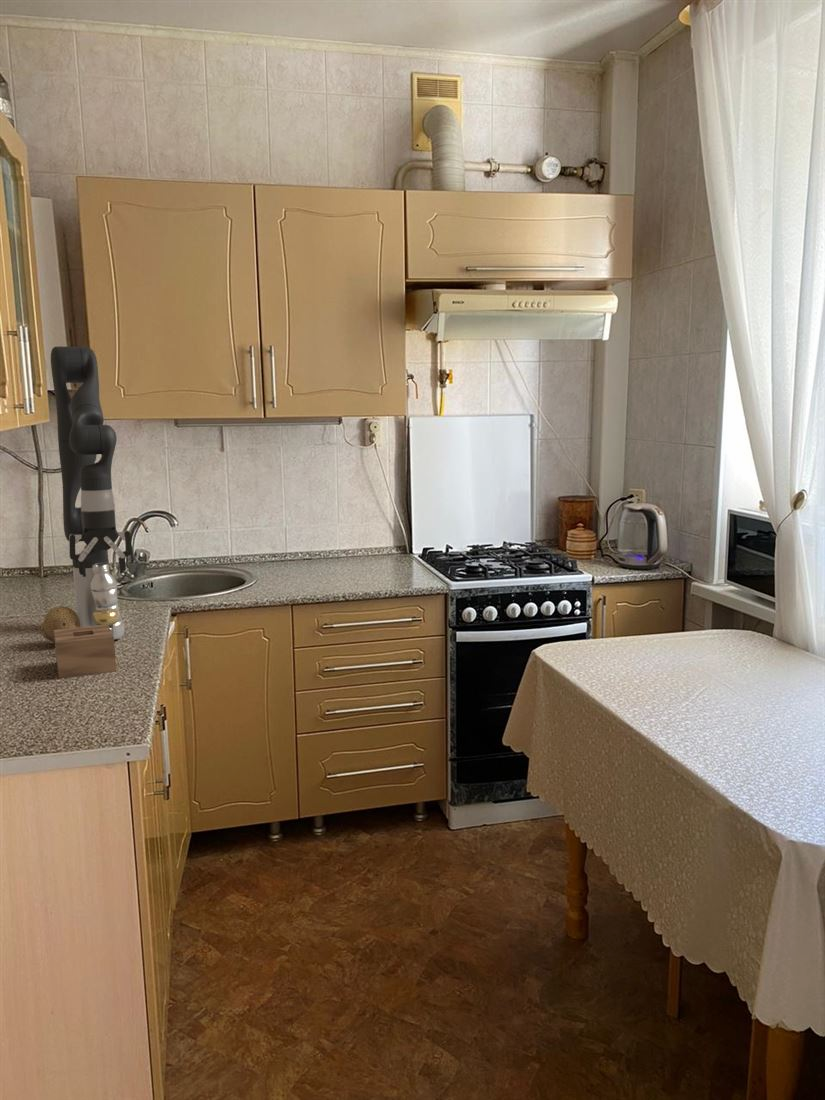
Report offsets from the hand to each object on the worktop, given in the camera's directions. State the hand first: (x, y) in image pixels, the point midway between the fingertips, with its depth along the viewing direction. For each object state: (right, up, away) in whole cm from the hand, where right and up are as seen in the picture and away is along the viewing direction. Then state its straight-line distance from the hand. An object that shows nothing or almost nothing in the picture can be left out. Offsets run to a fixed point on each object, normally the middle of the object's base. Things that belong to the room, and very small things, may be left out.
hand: (102, 574), depth 203 cm
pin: (0, -19, +3) cm, 19 cm away
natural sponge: (-13, -18, +9) cm, 24 cm away
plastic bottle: (-2, -17, +13) cm, 22 cm away
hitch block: (0, -21, -11) cm, 24 cm away
